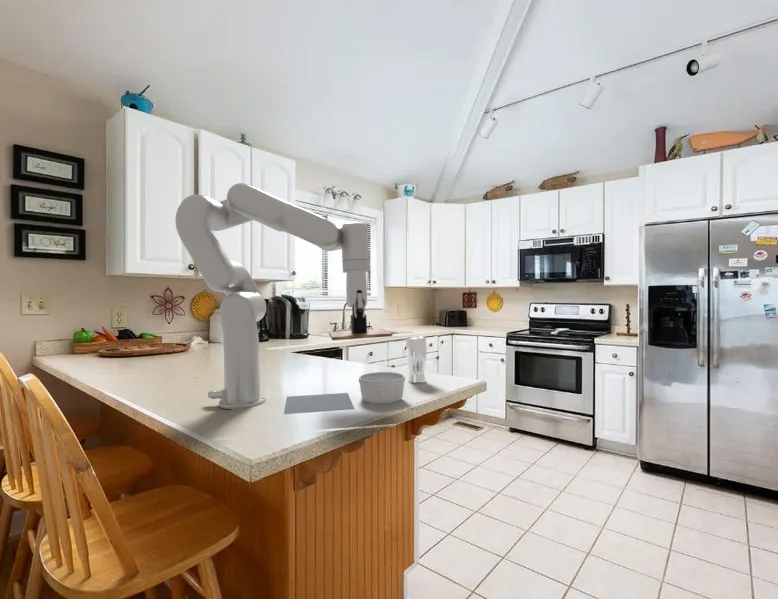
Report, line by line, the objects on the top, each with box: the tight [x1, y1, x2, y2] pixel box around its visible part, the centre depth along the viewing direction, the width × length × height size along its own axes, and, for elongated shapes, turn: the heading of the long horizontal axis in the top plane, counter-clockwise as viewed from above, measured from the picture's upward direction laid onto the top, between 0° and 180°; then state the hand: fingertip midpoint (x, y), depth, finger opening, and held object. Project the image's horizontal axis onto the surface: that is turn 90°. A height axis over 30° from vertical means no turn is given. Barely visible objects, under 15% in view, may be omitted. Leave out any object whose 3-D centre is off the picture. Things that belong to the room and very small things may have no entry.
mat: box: [283, 392, 355, 415], centre depth 117 cm, size 18×18×1 cm
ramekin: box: [358, 371, 406, 404], centre depth 121 cm, size 13×13×7 cm
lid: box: [328, 314, 393, 341], centre depth 119 cm, size 16×16×6 cm
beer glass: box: [405, 336, 428, 384], centre depth 144 cm, size 7×7×15 cm
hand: (359, 330), depth 119 cm, fingers closed on lid, 4 cm apart
